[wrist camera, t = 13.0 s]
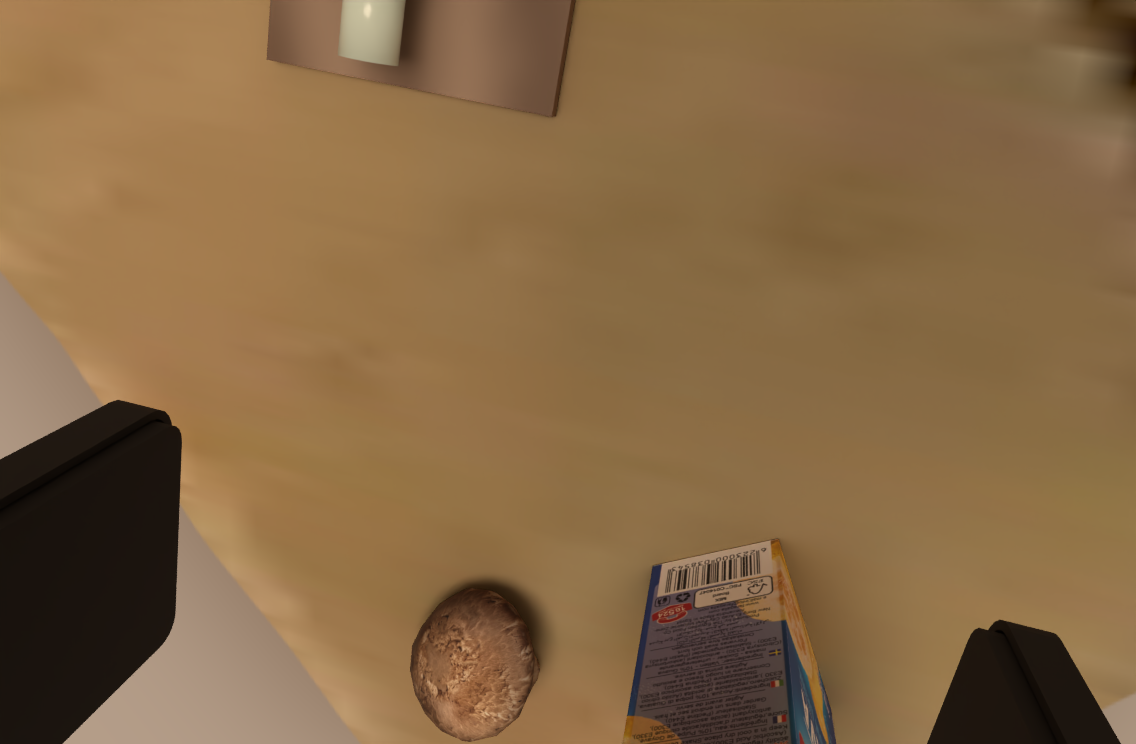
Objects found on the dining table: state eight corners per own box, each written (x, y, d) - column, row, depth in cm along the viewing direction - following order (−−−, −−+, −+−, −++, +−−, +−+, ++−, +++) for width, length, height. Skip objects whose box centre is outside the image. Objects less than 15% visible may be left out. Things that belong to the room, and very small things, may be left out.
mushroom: (578, 729, 49) (497, 755, 44) (475, 723, 54) (392, 746, 49) (564, 579, 50) (484, 588, 46) (466, 587, 55) (385, 596, 51)
